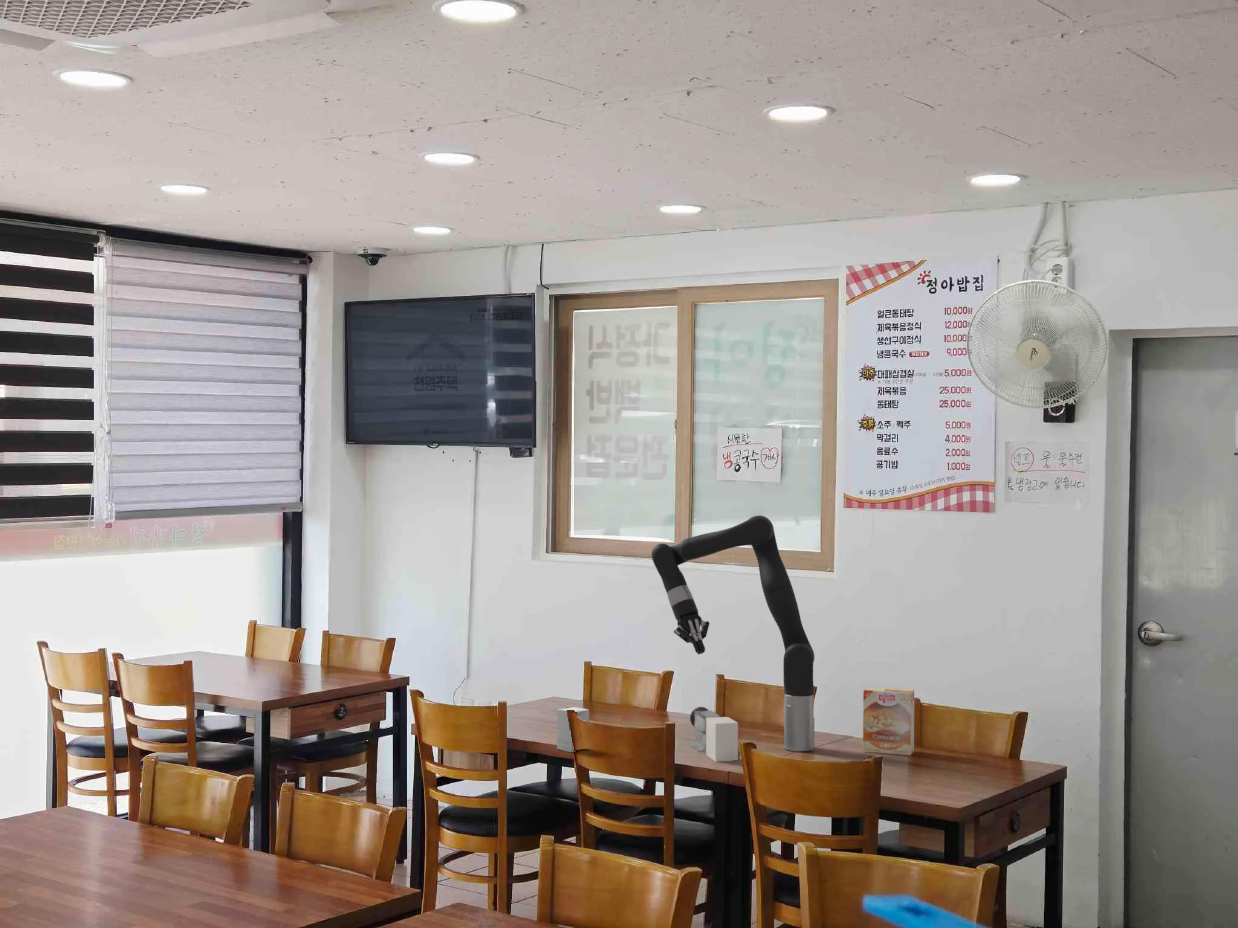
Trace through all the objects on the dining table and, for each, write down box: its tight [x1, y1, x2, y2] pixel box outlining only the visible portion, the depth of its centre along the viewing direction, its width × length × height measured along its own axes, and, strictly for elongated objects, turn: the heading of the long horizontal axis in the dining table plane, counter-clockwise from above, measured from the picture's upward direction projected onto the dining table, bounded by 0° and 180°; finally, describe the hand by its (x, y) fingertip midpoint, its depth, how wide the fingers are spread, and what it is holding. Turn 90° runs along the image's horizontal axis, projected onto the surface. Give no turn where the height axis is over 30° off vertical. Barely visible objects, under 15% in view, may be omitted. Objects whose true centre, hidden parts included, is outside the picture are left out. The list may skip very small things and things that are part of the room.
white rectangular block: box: [705, 716, 739, 762], centre depth 419 cm, size 10×7×11 cm
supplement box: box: [556, 706, 590, 753], centre depth 430 cm, size 7×7×13 cm
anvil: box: [687, 709, 721, 753], centre depth 435 cm, size 12×9×11 cm
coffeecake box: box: [862, 686, 915, 756], centre depth 429 cm, size 15×7×20 cm, turn 70°
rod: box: [689, 706, 709, 728], centre depth 431 cm, size 23×7×7 cm, turn 13°
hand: (701, 652), depth 430 cm, fingers closed
